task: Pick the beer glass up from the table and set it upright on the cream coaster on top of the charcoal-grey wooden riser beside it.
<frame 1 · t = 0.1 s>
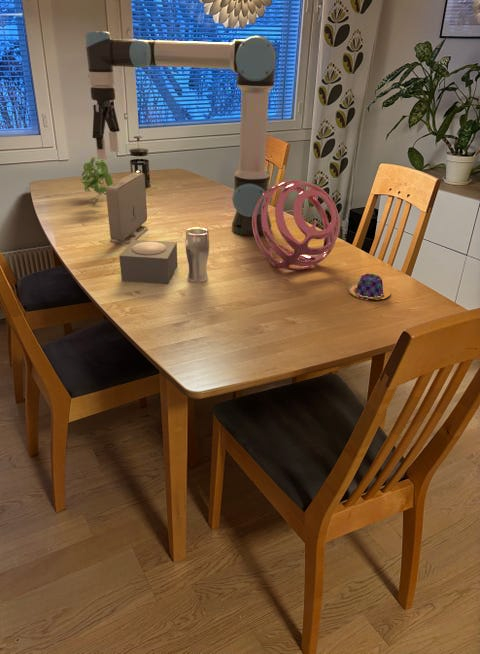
hand: (108, 155, 175), 28 cm above the table, tool pointing down, fingers open, 13 cm apart
french press: (141, 186, 251), on the table
spiral basket: (293, 266, 166), on the table
beer glass: (197, 279, 155), on the table
network device: (129, 235, 188), on the table
riser: (150, 273, 158), on the table
sun hat: (368, 294, 150), on the table
plant cuttings: (106, 204, 223), on the table
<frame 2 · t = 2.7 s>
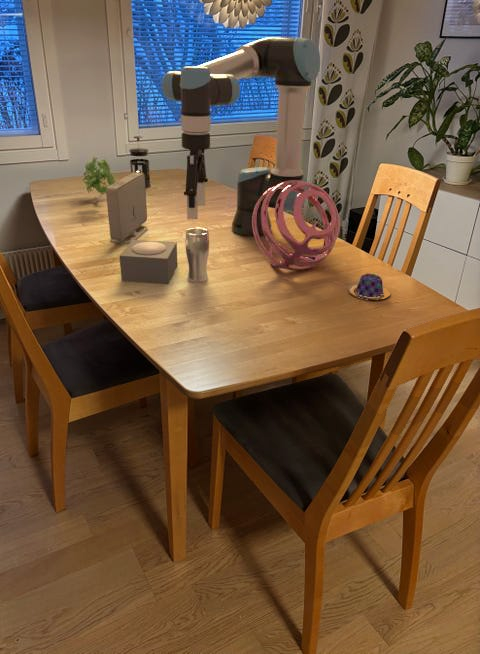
hand: (196, 211, 145), 21 cm above the table, tool pointing down, fingers open, 13 cm apart
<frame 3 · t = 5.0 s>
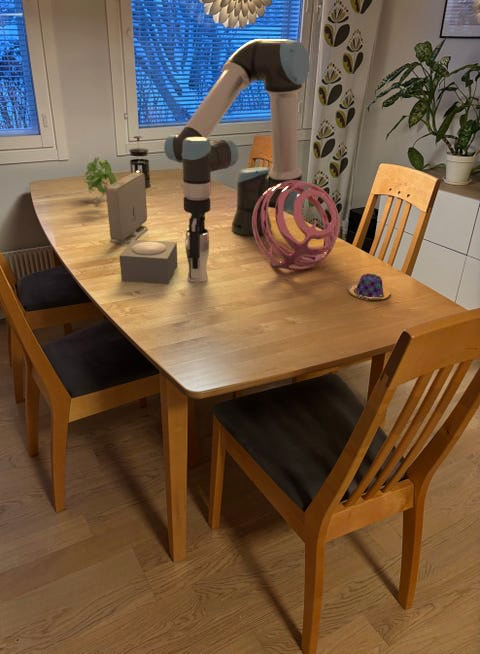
hand: (197, 272, 154), 2 cm above the table, tool pointing down, fingers closed on beer glass, 6 cm apart
beer glass: (197, 279, 155), on the table, touching gripper
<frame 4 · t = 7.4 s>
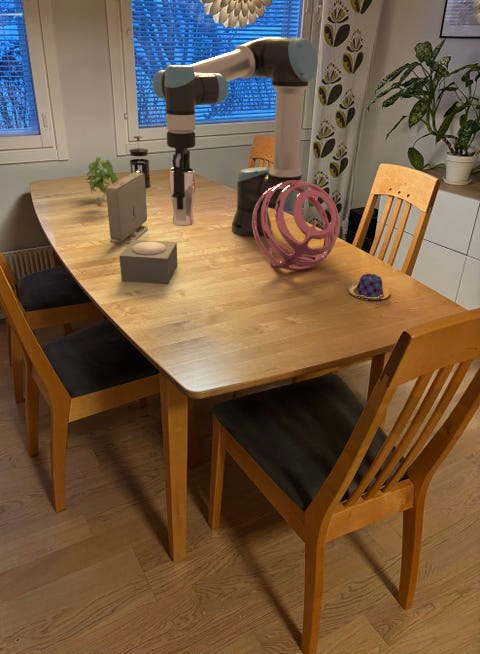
hand: (183, 216, 146), 19 cm above the table, tool pointing down, fingers closed on beer glass, 6 cm apart
beer glass: (183, 223, 147), point 17 cm above the table, touching gripper
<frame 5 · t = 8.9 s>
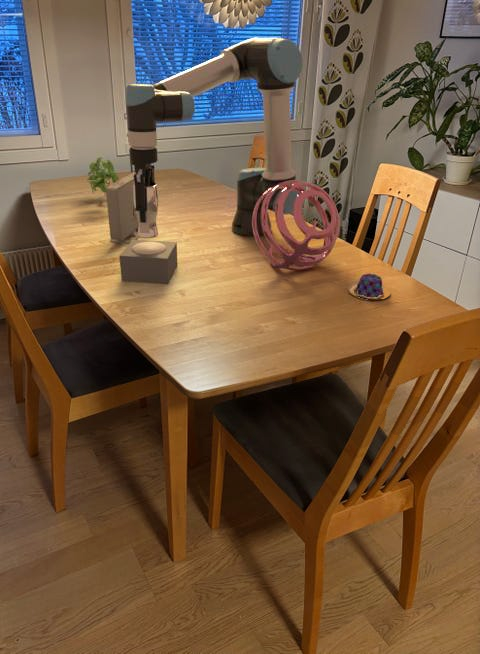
hand: (147, 228, 151), 14 cm above the table, tool pointing down, fingers closed on beer glass, 6 cm apart
beer glass: (148, 235, 152), point 12 cm above the table, touching gripper
when the fingers open (12 cm above the table, at t = 10.1 s): beer glass drops 1 cm, resting on riser.
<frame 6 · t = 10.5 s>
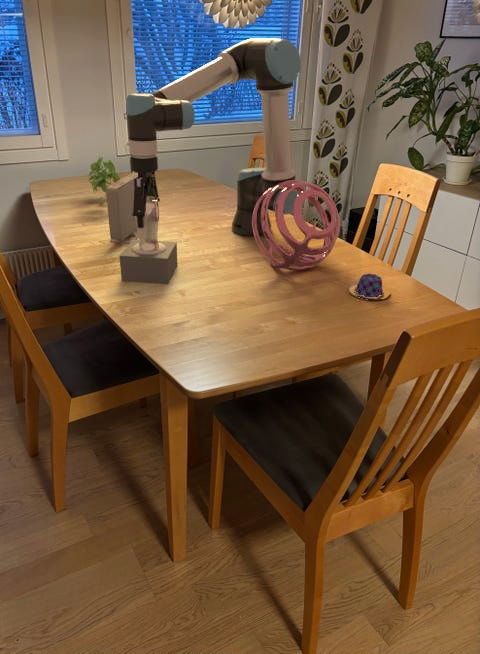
hand: (148, 230, 151), 14 cm above the table, tool pointing down, fingers open, 13 cm apart
beer glass: (149, 249, 153), point 8 cm above the table, touching riser
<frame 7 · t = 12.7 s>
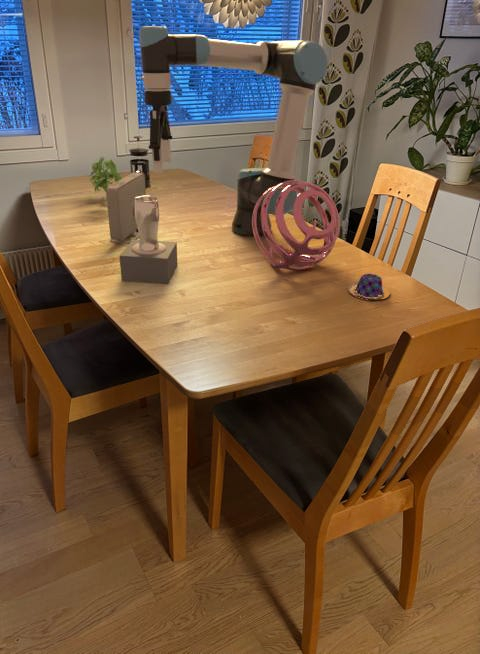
hand: (162, 166, 155), 29 cm above the table, tool pointing down, fingers open, 13 cm apart
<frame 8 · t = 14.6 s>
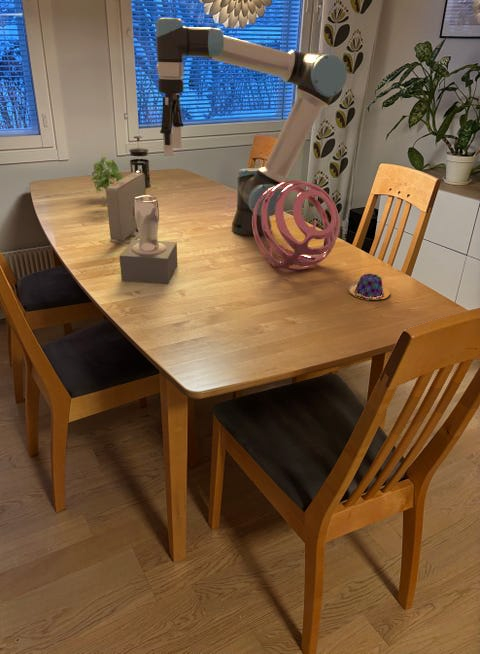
hand: (173, 151, 164), 32 cm above the table, tool pointing down, fingers open, 13 cm apart
at the end: beer glass inside the target area on the riser (1.1 cm from its centre), point 8.2 cm above the riser's base; beer glass tilted 0°; the gripper is holding nothing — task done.
